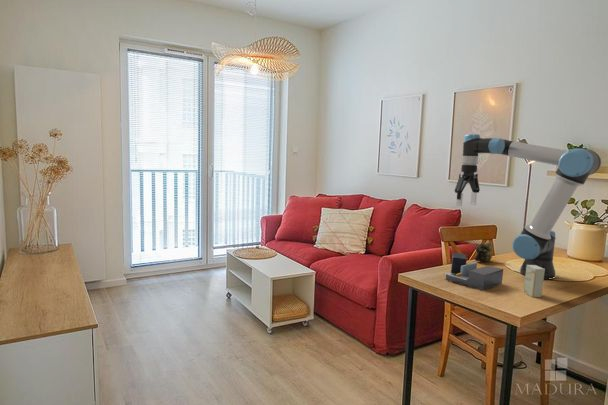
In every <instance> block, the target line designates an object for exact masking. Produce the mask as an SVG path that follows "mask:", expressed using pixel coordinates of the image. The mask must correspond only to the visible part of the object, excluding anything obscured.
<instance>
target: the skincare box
mask: <svg viewBox="0 0 608 405" xmlns="http://www.w3.org/2000/svg"><path fill="white" fill-rule="evenodd" d="M544 273H545V269H543V268H541V267H539V266H537V265H527V267H526V274H525V275H524V282H523V291H522V292H523V293H524V294H526V295H528V296H529V297H531V298H542V293H543V287H544V280H545V279H544Z"/></svg>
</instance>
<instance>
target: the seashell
mask: <svg viewBox="0 0 608 405" xmlns="http://www.w3.org/2000/svg"><path fill="white" fill-rule="evenodd" d="M492 246H493V245H492V243H491V242H488V243H479V244H477V245H476V246H475V251H476V256H475V259H474V260H475V262H476V261H477V262H484V263H487V262H490V261H491V259H492V258H493V257H492V253H491V252H492V251H493V249H492Z"/></svg>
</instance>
